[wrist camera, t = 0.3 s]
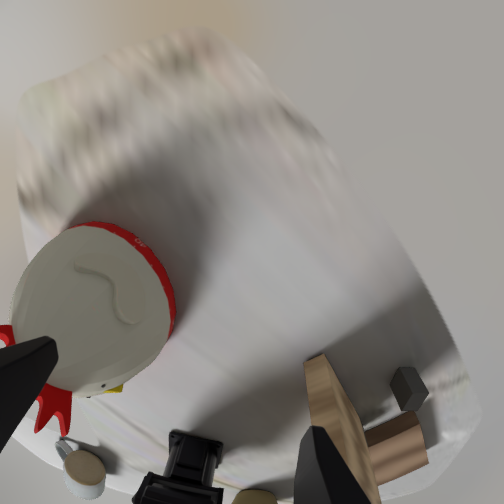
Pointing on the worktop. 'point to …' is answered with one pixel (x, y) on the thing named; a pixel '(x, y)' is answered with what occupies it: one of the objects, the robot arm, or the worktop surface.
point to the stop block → (408, 389)
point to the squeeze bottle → (254, 497)
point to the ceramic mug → (82, 471)
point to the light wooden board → (340, 422)
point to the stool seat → (396, 447)
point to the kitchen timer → (92, 313)
